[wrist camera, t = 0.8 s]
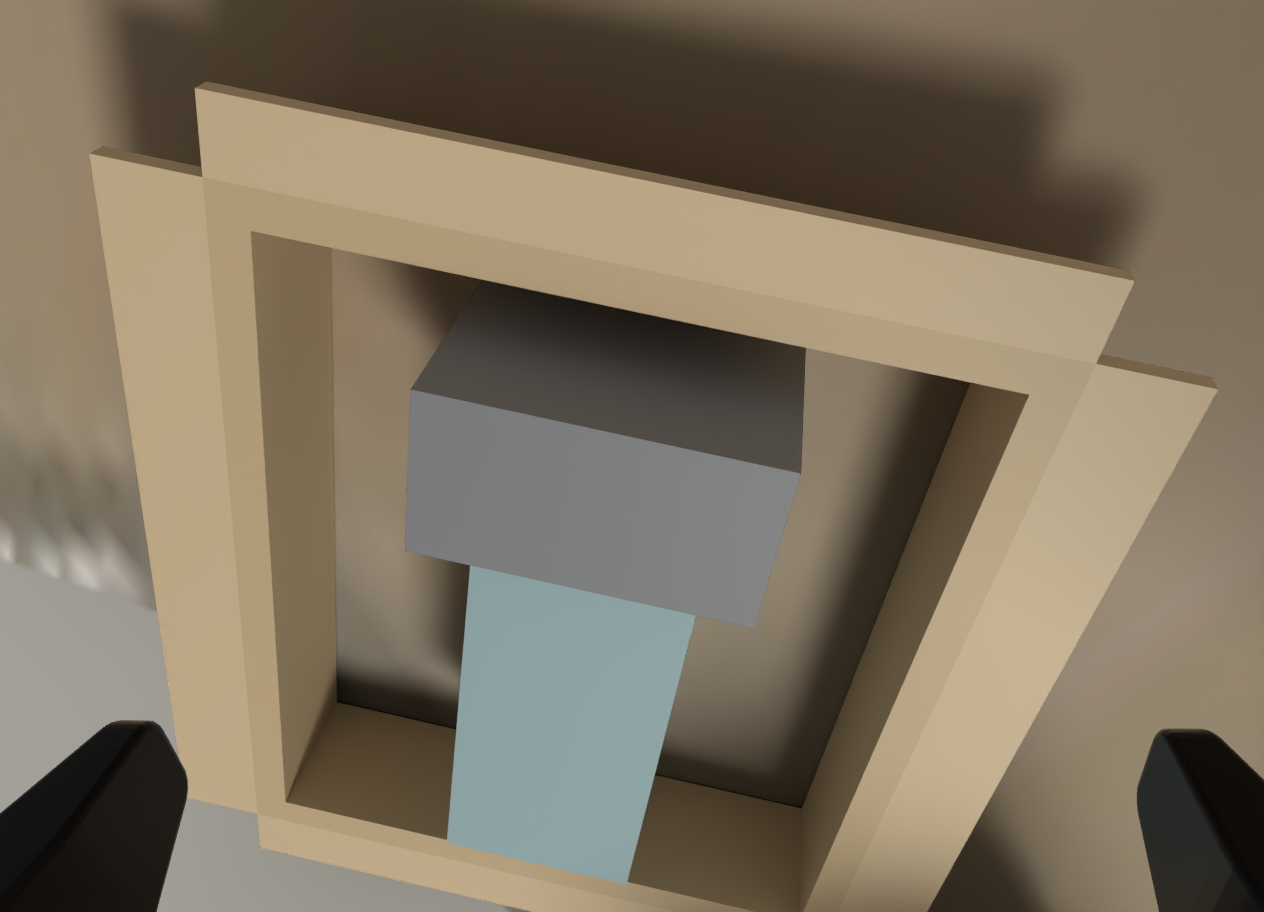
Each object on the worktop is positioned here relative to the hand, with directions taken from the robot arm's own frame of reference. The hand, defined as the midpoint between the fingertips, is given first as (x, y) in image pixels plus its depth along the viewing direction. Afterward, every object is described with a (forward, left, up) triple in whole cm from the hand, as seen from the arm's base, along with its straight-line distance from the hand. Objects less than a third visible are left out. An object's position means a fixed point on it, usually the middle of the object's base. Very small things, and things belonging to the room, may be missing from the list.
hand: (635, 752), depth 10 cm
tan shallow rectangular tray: (-9, +1, -13) cm, 16 cm away
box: (-9, +1, -13) cm, 16 cm away
